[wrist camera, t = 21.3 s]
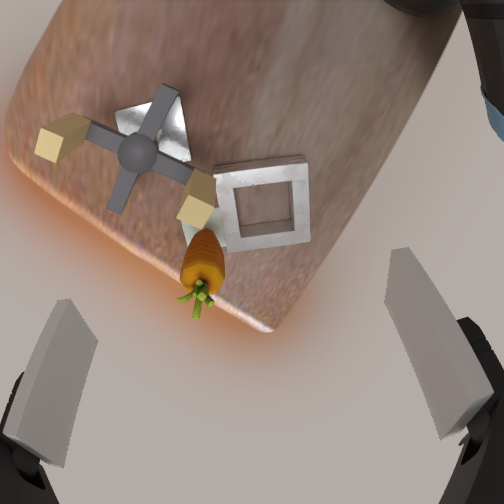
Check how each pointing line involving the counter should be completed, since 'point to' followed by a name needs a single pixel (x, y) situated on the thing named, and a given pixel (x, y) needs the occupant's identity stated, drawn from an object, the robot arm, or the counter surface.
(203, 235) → the carrot
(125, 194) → the handwheel
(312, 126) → the counter surface
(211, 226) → the pad
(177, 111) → the square base pedestal
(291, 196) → the gray square frame
